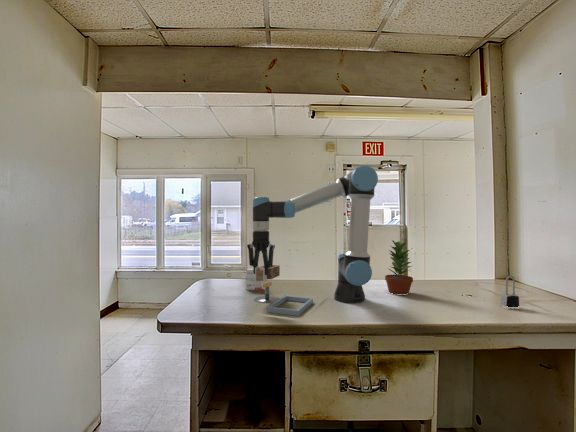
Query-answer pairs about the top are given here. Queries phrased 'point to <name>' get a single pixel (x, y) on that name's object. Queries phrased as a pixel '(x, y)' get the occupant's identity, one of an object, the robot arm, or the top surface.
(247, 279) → the ink box
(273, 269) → the brown wooden forked piece
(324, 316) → the top surface
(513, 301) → the padlock
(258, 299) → the lid
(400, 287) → the potted plant
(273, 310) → the tray
